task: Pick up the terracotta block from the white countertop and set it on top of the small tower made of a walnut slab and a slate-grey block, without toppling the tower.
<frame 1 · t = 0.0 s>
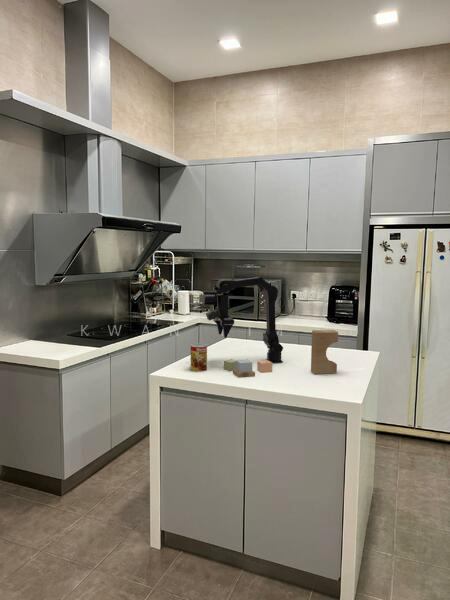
hand: (222, 336, 221), 15 cm above the countertop, tool pointing down, fingers open, 9 cm apart
olive block: (230, 369, 213), on the countertop
decorative block: (323, 373, 210), on the countertop
terracotta block: (264, 371, 212), on the countertop
grey block: (243, 370, 205), point 2 cm above the countertop, touching walnut slab
walnut slab: (243, 375, 205), on the countertop, touching grey block
canned food: (198, 370, 213), on the countertop
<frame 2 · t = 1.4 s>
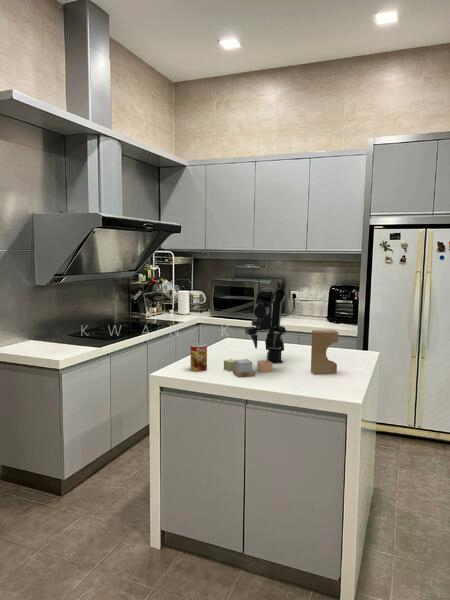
hand: (265, 347, 211), 11 cm above the countertop, tool pointing down, fingers open, 9 cm apart
nothing on the countertop moved.
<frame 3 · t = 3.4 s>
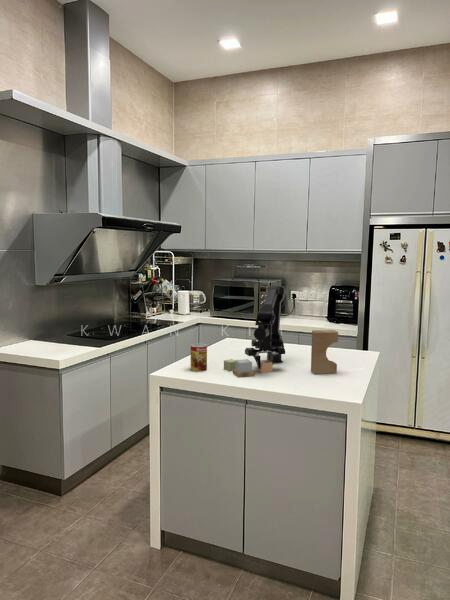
hand: (264, 368, 212), 1 cm above the countertop, tool pointing down, fingers closed on terracotta block, 5 cm apart
terracotta block: (264, 370, 212), on the countertop, touching gripper
everything else where it was.
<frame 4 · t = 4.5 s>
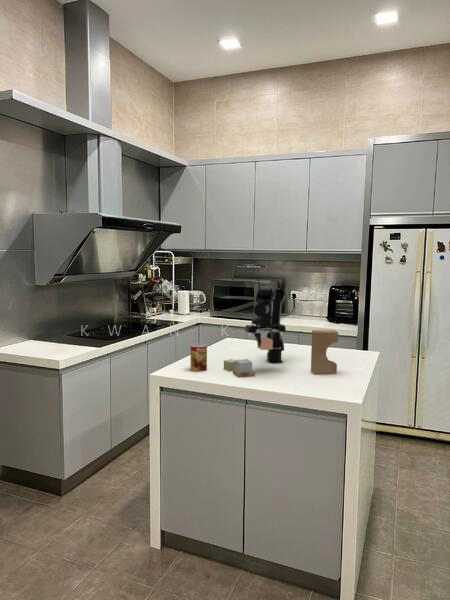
hand: (264, 346, 211), 12 cm above the countertop, tool pointing down, fingers closed on terracotta block, 5 cm apart
terracotta block: (264, 348, 211), point 11 cm above the countertop, touching gripper
everything else where it was.
when the fingers open (9 cm above the countertop, at t = 6.1 s): terracotta block drops 2 cm, resting on grey block.
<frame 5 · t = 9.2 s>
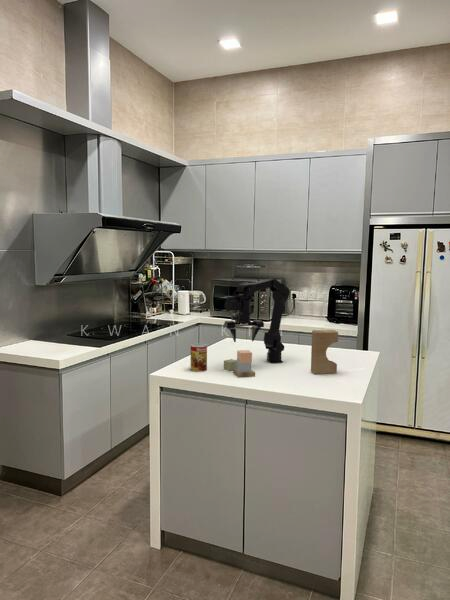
hand: (243, 341, 216), 13 cm above the countertop, tool pointing down, fingers open, 9 cm apart
terracotta block: (244, 361, 204), point 6 cm above the countertop, touching grey block
grey block: (243, 370, 205), point 2 cm above the countertop, touching terracotta block, walnut slab
everything else where it was.
at the end: terracotta block 0.6 cm off-centre on the grey block, point 4.5 cm above the grey block's base; grey block tilted 0°; grey block moved 0.8 cm from its start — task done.
